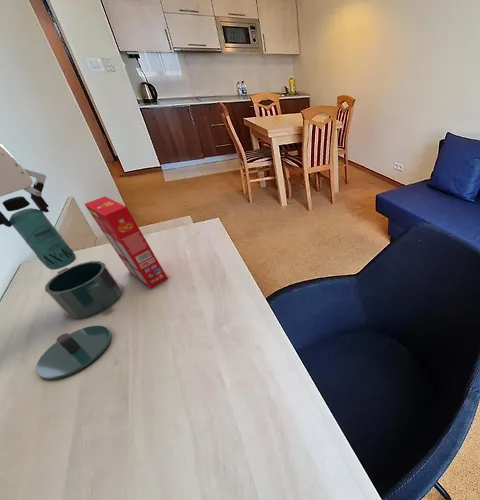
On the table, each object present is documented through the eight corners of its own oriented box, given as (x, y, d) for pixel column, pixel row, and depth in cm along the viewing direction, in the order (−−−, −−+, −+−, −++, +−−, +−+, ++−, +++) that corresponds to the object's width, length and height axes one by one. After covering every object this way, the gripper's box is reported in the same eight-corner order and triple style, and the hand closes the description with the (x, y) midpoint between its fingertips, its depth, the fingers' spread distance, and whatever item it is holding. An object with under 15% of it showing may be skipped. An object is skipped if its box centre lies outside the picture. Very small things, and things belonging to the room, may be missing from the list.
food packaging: (168, 278, 94) (126, 206, 80) (151, 288, 91) (104, 215, 76) (146, 263, 102) (104, 196, 87) (130, 272, 98) (84, 203, 84)
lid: (56, 391, 65) (38, 375, 62) (28, 365, 71) (10, 350, 68) (124, 340, 75) (111, 324, 72) (94, 321, 81) (81, 306, 78)
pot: (87, 328, 80) (64, 302, 74) (54, 307, 88) (31, 282, 82) (136, 294, 89) (119, 269, 83) (103, 278, 97) (85, 254, 92)
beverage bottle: (45, 274, 79) (-16, 206, 67) (67, 258, 84) (15, 193, 73) (65, 275, 78) (7, 205, 66) (87, 259, 83) (37, 192, 71)
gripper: (11, 130, 70) (61, 200, 80) (-102, 154, 58) (-26, 233, 68) (24, 131, 66) (75, 204, 77) (-93, 157, 54) (-15, 240, 65)
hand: (27, 217), depth 72 cm, fingers closed on beverage bottle, 6 cm apart
